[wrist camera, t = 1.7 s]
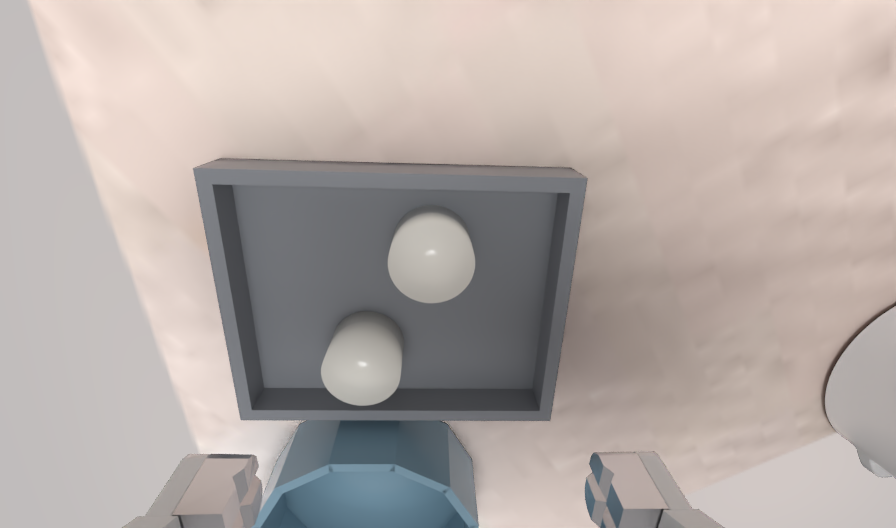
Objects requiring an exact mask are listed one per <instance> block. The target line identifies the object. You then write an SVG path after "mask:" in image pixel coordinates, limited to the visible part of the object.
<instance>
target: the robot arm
mask: <svg viewBox="0 0 896 528" xmlns="http://www.w3.org/2000/svg"><path fill="white" fill-rule="evenodd" d="M825 408H826V413H827V417H828V419H829V421H830V423H831V425H832V427H833V428H834V429H835V430H836V431H837V432H838V433H839V434H840V435H841V436H842V437H844V438H845V439H846V440H848V441H849V442H851V443H852V444H853V445H854V446H855V447H856V449H857V452H858V455H859V459H860V461H861V463H862V465H863V466H864V467H865V468H867V469H868V470H869V471H871V472H872V473H873V474H875V475H876V476H879V477H892V476H893V477H894V478H896V306H895V307H893V308H891V309H890V310H888V311H887V312H885V313H884V314H883V315H881V316H880V317H878V318H877V319H876V320H874V321H873V322H872V323H871V324H870V325H868V326H867V327H866V328H865V329H864V330H863V331H862V332H861V333H860V334H859V335H858V336H857V337H856V338H855V339H854V340H853V341H852V342H851V344H850V345H849V346H848V347H847V348H846V350H845V351H844V352H843V354H842V355H841V357H840V358H839V360H838V362H837V363H836V365H835V367H834V369H833V371H832V373H831V376H830V378H829V381H828V384H827V388H826V394H825ZM589 465H590V467H591V469H592V473H591V474H590V475H589V476H588V477H587V478H586V484H585V500H586V505H587V509H588V512H589V515H590V518H591V520H592V521H593V522H594V523H596V524H597V525H598V526H599V527H600V528H724V527H723V526H721V525H720V524H719V523H717V522H716V521H714V520H713V519H711V518H710V517H709V516H707V515H706V514H704V513H703V512H702V511H700V510H699V509H692V507H691V506H690V504H689V503H688V501H687V499H686V498H685V496H684V495H683V493H682V492H681V490H680V488H679V487H678V485H677V484H676V482H675V480H674V479H673V477H672V476H671V474H670V473H669V471H668V469H667V468H666V466H665V465H664V463H663V462H662V460H661V458H660V457H659V455H658V454H657V453H655V452H654V451H652V452H594V453H593V454H592V456H591V459H590V463H589ZM258 467H259V466H258V461H257V457H256V456H255V455H239V454H189V455H187V456H186V457H185V458H183V459H182V461H181V462H180V464H179V465H178V467H177V468H176V470H175V471H174V473H173V474H172V476H171V477H170V479H169V480H168V482H167V483H166V485H165V486H164V488H163V490H162V491H161V493H160V494H159V495H158V497H157V499H156V500H155V502H154V503H153V505H152V506H151V508H150V509H149V511H148V512H147V514H146V515H145V516H139V517H136V518H135V519H134V520H132V521H131V522H129V523H128V524H126V525H125V526H124V527H122V528H251V527H252V526H254V525H255V522H256V520H257V517H258V514H259V511H260V506H261V502H262V483H261V480H260V479H259V478H258V477H257V476H255V474H256V472H257V469H258Z"/></svg>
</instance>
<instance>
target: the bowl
mask: <svg viewBox="0 0 896 528" xmlns="http://www.w3.org/2000/svg"><path fill="white" fill-rule="evenodd" d="M478 526H479V524H478V514H477V505H476V495H475V486H474V476H473V466H472V459H471V458H470V456H469V455H468V453H467V452H466V450H465V449H464V447H463V446H462V445H461V443H460V442H459V440H458V439H457V437H456V436H455V434H454V433H453V432H452V430H451V429H450V427H449V426H448V424H446V423H443V422H441V421H428V420H307V421H305V422H303V423H301V424H299V426H298V428H297V429H296V431H295V432H294V434H293V436H292V437H291V439H290V440H289V442H288V444H287V445H286V447H285V448H284V450H283V452H282V453H281V455H280V456H279V458H278V460H277V462H276V464H275V467H274V469H273V472H272V474H271V477H270V479H269V481H268V484H267V486H266V489H265V491H264V494H263V496H262V502H261V506H260V511H259V514H258V517H257V520H256V522H255V525H254V526H252V527H251V528H478Z"/></svg>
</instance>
